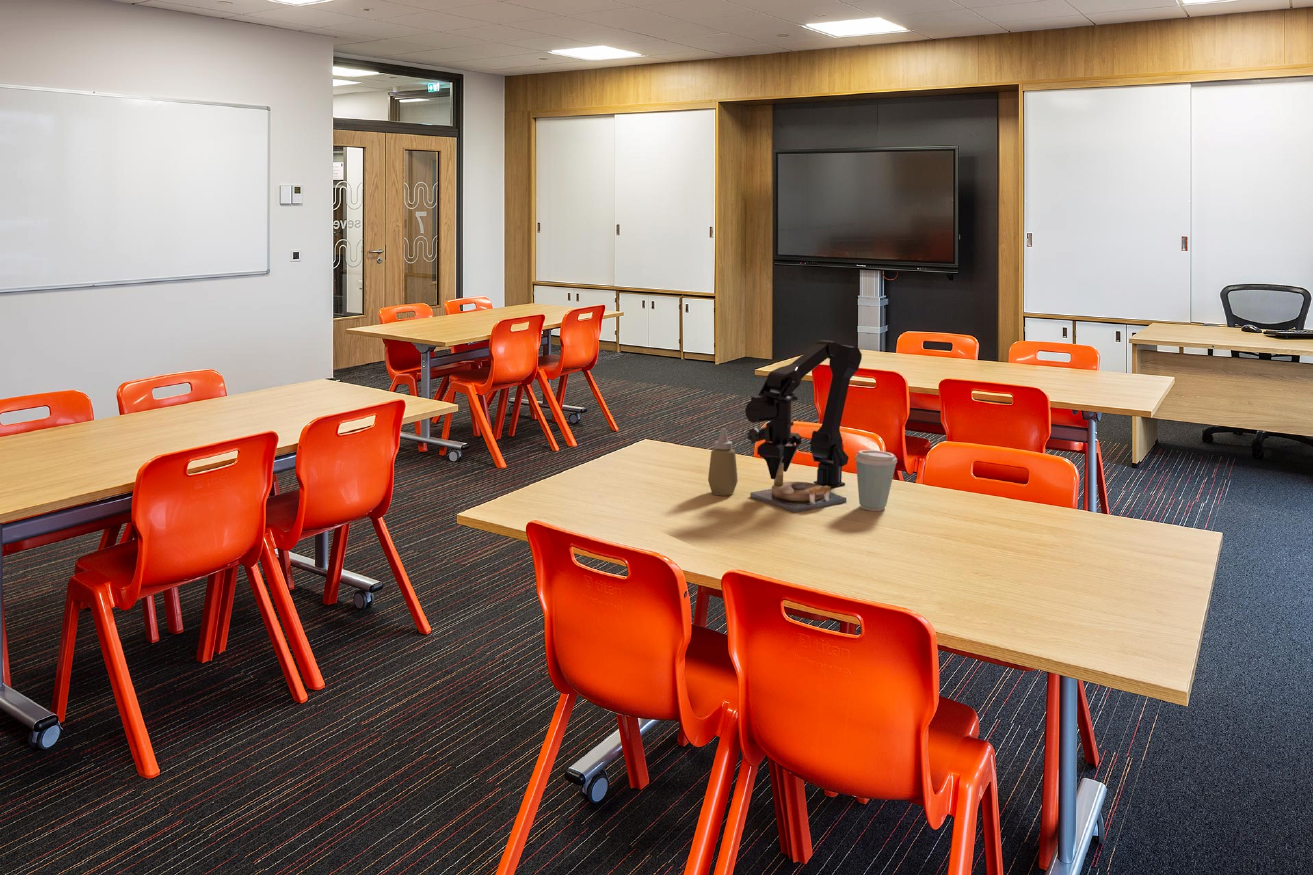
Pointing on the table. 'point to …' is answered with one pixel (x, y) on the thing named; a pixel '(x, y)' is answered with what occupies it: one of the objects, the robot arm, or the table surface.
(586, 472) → the table surface
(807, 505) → the level stand
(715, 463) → the squeeze bottle
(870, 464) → the disposable coffee cup
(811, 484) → the cam dial
